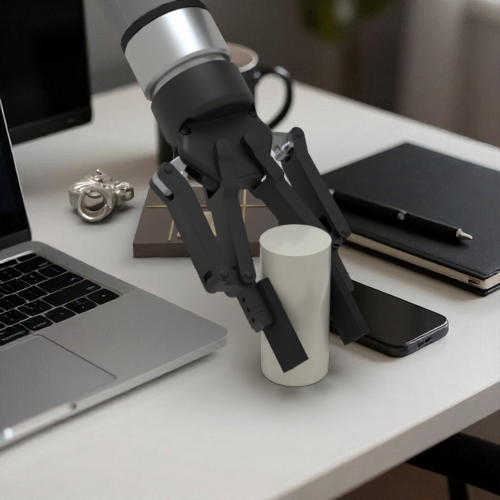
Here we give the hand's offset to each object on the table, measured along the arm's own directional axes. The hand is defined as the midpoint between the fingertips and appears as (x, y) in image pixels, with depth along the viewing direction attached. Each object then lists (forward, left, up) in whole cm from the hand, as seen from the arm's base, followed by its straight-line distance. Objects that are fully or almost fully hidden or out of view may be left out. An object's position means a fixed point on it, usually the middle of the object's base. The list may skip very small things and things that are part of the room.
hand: (327, 351), depth 67 cm
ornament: (+22, -33, -4) cm, 40 cm away
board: (+10, -29, -3) cm, 31 cm away
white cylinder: (+2, -3, -3) cm, 5 cm away
